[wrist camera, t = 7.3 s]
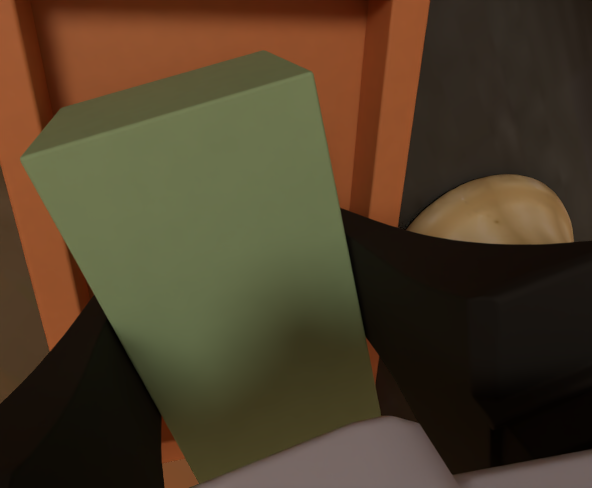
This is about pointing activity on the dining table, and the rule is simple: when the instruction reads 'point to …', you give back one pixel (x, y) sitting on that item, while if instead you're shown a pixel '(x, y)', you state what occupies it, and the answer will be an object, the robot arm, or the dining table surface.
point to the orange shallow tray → (193, 55)
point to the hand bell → (497, 213)
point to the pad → (216, 253)
